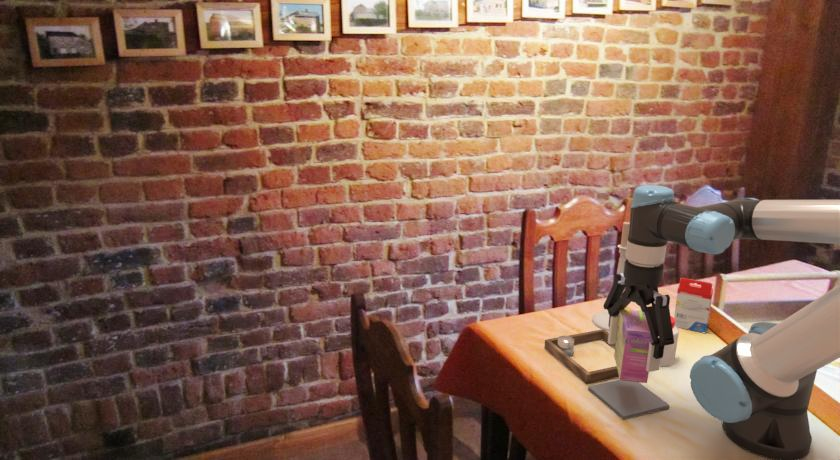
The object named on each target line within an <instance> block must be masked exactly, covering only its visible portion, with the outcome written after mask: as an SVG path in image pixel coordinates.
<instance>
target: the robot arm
mask: <svg viewBox="0 0 840 460" xmlns="http://www.w3.org/2000/svg"><path fill="white" fill-rule="evenodd" d="M629 215H630V216H629V222H630V225H629V234H628V239H627V246H626V254H625V257H626V260H625V264H624V272H623V273H621V274H617V273H616V274H615V275H614V280H613V284H612V286H611V288H610V291H609V292H608V295H607V297H606V298H605V301H604V303H603V309H604V310H608V313H609V315H610V316H609V331H608V333H609V335H608V344H607V345H609V344H615V343H616V337H617V329H618V321H619V315H618V314H619V313H620V310H622V309H625V310H626V308H627V307H628V306H629V305H630V304H631V302H632V303H635V304H636V305H637V306H638V307H639V308H640V311H643V312H644V314H645V317H646V320H647V323H648V327H649V330H650V333H651V336H652V339H653V341H652V342H650V343H649V350H648V358H647V365H646V371H647V372H649V373H650V372H655V371H659V370H660V367H661V366H660V359H661V358H662V357H663V353H664V346H665V345H670V344H674V337H673V330H672V323H671V316H672V315H671V311H670V303H671V302H670V300H671V297H670V295H669V294H662V293H659V292H660V291H659V288H658V287H659V285H660V284H661V282H662V281H663V277H664V276H663V275H664V268H665V266H664V264H663V263H664V262H665V260H666V254H667V251H666V250H667V246H668V242H670V243H673V244H676V245H679V246H682V247H685V248H689V249H691V250H693V251H695V252H698V253H705V254H709V255H715V256H716V255H721V254H722V253H724V252H725V250H727V249H728V248H729V247H730V246H731V244H732V242H733V241H734V240H735V241H737V240H754V241H755V240H759V241H760V240H761V241H764V240H765V241H778V242H779V241H780V242H782V241H783V242H797V243H812V244H813V243H814V244H829V245H830V244H831V245H832V244H833V245H840V199H758V198H755V197H741V198H736V199H733V200H732V199H731V200H729V201H724V202H719V203H712V204H708V205H703V206H691V205H689V204H688V205H687V204H683V203H680V202H677V201H675V192H674V190H673V189H672V188H669V186H664V185H663V186H662V185H657V184H656V185H655V184H645V185H638V186H637V187H636V188H635V189H634V191H633V195H632V199H631V205H630V214H629ZM624 289H625V291H624ZM623 291H624V292H623ZM658 336H659V338H658ZM838 359H840V284H838V285H836V286H835V287H833V288H832V289H830V290H828V291H827V292H825V293H823V294H822V295H821V296H818V297H817V298H816V299H815V300H813V301H812V302H810V303H808V304H806V305H804V306H803V307H802V308H800V309H799V310H797V311H796V312H794V313H793V314H791V315H789V316H787V318H785V319H783V320H781V321H780V322H779V323H776V322H775V323H774V322H768V321H767V322H766V321H759V322H755V323H754V322H753V323H752V325H751V326H750V328H749V330H748V331H747V333H744V334H743V335H741V336H739V337H738V338H735V340H733V341H731V342H730V343H729V344H727V345H725V346H724V347H722V348H721V349H719V350H717V351H716V352H713V353H712V354H708V355H703V356H701V357H700V358H699V359H697V361H695V362H694V364H693V365H692V367H691V369H690V373H689V378H690V383H689V384H690V388H691V390H692V394H693V395H694V398H695V399H696V401H697V403H698V404H699V405H700V407H701V408H702V409H703V410H705V412H706V413H707V414H708V415H710V416H711V417H713V418H716V419H718V420H719V421H721V422H722V423H721V425H722V430H723V431H724V433H725V435H726V436H727V437H728V438H729V439H730V440H731V441H732V442H733V443H734V444H736V445H737V446H738V447H741V448H742V449H744V450H746V451H748V452H750V453H752V454H754V455H756V456H757V455H758V456H759V457H763V458H766V459H770V460H803V459H804V458H806V457H807V456H808V455H809V454H810V451H811V447H812V442H813V441H812V440H813V436H812V434H811V429H810V422H809V416H808V410H809V405H810V401H811V396H812V393H813V389H814V384H815V379H816V376H817V373H818V372H817V371H818V370H820V369H821V368H823V367H825V366H827V365H829V364H830V363H832V362H834V361H836V360H838Z"/></svg>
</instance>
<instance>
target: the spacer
mask: <svg viewBox="0 0 840 460" xmlns="http://www.w3.org/2000/svg"><path fill="white" fill-rule="evenodd" d="M557 338H558V344H557V347H558V348H560V349H561V350H562V351H563V352H565V353H566V354H567V355H568V356H569V357H571V358H572V356H574V348H575V347H574V346H575V345H574V339H573V338H572V337H570V336H569V335H560V336H558V337H557Z"/></svg>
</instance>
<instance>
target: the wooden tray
mask: <svg viewBox="0 0 840 460" xmlns="http://www.w3.org/2000/svg"><path fill="white" fill-rule="evenodd" d="M608 335H609V331H606V330H604V329H601V328H600V329H597V330H592V331H587V332H581V333H575V334H570V335H568V336H570V337H572V338H573V339H574V346H575V345H580V344H584V343H591V342H595V341H601V340H602V341H603V342H605V343H606V344H607V345H609V346H611V348H613V349H615V345H616V343H615V344H608ZM557 344H558V337H554V338H548V339H544V349H545V350H546V351H547V352H548V353H549V354H551V355H552V356H553V357H554V358H555V359H557V360H558V361H559V362H560V363H561V364H562V365H563V366H565V367H566V368H567V369H568V370H569V371H570V372H571V373H573V374H574V375H575V376H576V377H577V378H579V380H581V381H582V382H583V383H585V385H588V384H594V383H598V382H602V381H607V380H612V379H615V378H619V374H618V370H617V365H615V366H611V367H610V366H609V367H606V368H602V369H601V368H600V369H597V370H596V369H595V370H592V371H591V370H590V371H588V370H587V369H585V368H584V367H583V366H581V364H580V363H578V362H577V361H576V360H574V359H573V358H572V356H571V357H569V356H568V355H567V354H566V353H565V352H563V351H562V350H561V349H560V348H558V347H557Z"/></svg>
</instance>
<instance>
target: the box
mask: <svg viewBox="0 0 840 460" xmlns="http://www.w3.org/2000/svg"><path fill="white" fill-rule="evenodd" d="M652 341H653V339H652V336H651V333H650V330H649V327H648V323H647V320H646V317H645V314H644V312H643V311H642V310H634V309H626V308H625V309H622V310H620V313H619V321H618V329H617V337H616V345H615V348H614V352H613V353H614V354H613V357H614V361H615V366H617V370H618V374H619V377H618V378H619V379H618V380H624V381H631V382H639V383H641V384H642V383H643V384H647V383H648V381H649V380H648V379H649V373H650V372H647V371H646V365H647V358H648V350H649V343H650V342H652Z"/></svg>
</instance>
